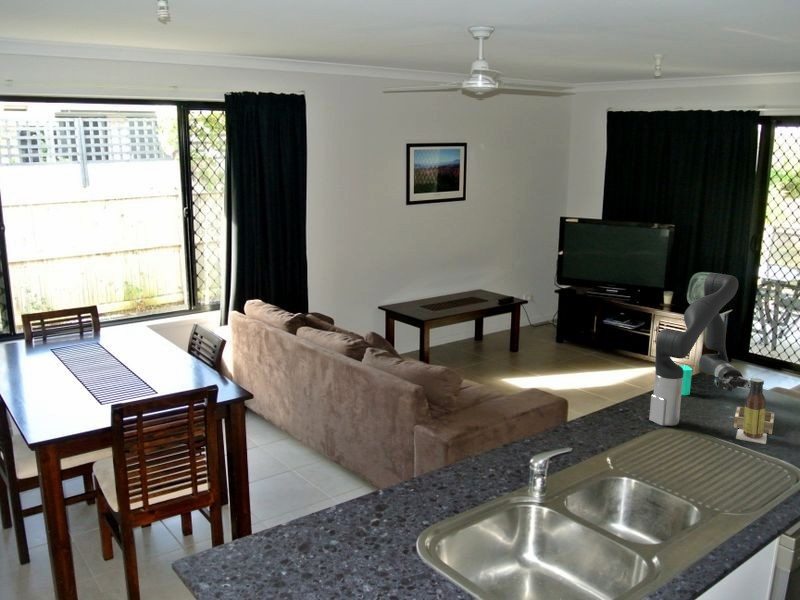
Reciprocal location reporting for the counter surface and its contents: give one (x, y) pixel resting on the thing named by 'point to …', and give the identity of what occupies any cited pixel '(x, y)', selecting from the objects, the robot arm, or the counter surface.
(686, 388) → the turquoise rectangular block
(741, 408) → the wooden tray
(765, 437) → the coaster mat
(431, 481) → the counter surface
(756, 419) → the sauce bottle
